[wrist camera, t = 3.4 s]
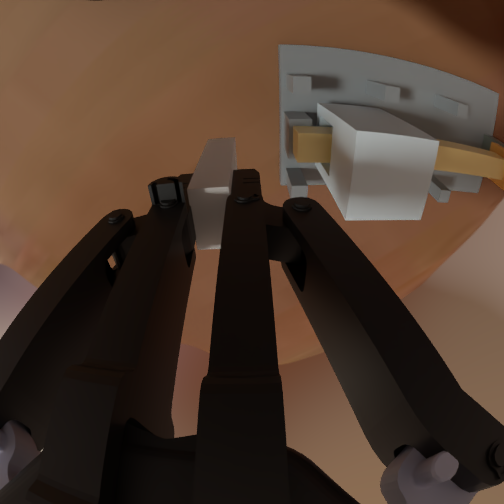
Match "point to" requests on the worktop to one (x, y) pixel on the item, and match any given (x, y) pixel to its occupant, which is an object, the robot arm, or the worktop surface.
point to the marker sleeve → (376, 163)
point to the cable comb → (392, 101)
